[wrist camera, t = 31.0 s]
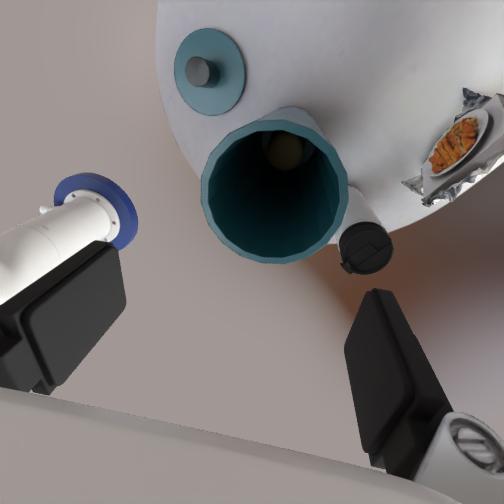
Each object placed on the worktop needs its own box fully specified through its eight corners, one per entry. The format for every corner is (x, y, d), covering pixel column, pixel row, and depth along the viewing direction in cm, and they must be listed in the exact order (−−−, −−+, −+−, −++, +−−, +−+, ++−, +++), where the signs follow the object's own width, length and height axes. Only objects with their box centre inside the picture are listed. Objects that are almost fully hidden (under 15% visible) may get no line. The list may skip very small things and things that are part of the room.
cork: (305, 160, 47) (306, 175, 37) (270, 161, 48) (263, 177, 38) (306, 121, 44) (307, 128, 34) (269, 124, 45) (261, 131, 35)
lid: (178, 110, 46) (160, 112, 41) (175, 26, 41) (155, 14, 35) (242, 119, 45) (234, 122, 40) (249, 34, 40) (241, 23, 34)
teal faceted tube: (255, 168, 49) (199, 252, 22) (262, 102, 44) (201, 108, 17) (311, 176, 48) (326, 274, 21) (326, 110, 43) (370, 131, 16)
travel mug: (318, 202, 50) (328, 255, 33) (348, 177, 47) (375, 221, 30) (339, 224, 52) (359, 286, 35) (369, 202, 49) (407, 257, 32)
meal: (460, 85, 39) (525, 79, 28) (485, 98, 39) (560, 98, 28) (393, 179, 46) (422, 205, 35) (414, 190, 47) (450, 218, 35)
